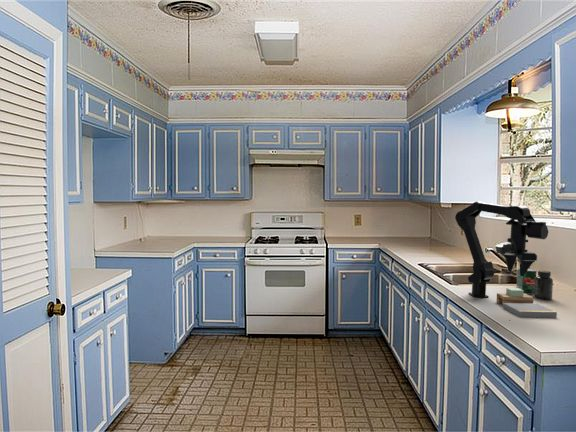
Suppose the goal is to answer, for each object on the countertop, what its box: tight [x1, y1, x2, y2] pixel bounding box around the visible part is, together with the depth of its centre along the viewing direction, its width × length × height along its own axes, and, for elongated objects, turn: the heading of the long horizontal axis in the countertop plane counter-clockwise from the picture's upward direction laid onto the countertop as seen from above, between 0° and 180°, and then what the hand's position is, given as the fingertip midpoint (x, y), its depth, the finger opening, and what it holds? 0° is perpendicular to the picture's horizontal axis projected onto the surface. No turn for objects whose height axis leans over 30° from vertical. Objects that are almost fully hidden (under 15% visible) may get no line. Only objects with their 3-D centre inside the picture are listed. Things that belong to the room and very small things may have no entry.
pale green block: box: [505, 287, 524, 296], centre depth 177 cm, size 4×5×2 cm
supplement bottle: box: [534, 270, 554, 301], centre depth 188 cm, size 7×7×12 cm
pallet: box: [496, 292, 534, 306], centre depth 177 cm, size 6×12×4 cm, turn 91°
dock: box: [502, 302, 558, 319], centre depth 165 cm, size 12×14×2 cm
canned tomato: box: [515, 267, 538, 295], centre depth 198 cm, size 8×8×11 cm
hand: (515, 273), depth 176 cm, fingers open, 9 cm apart
